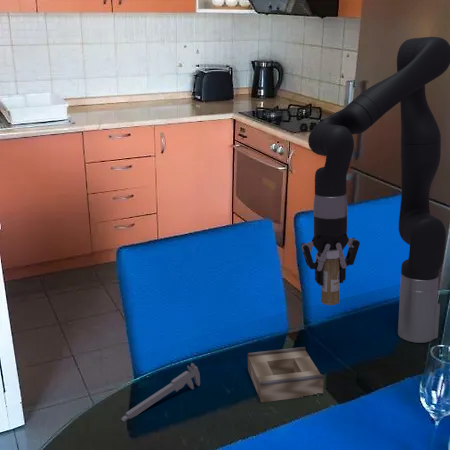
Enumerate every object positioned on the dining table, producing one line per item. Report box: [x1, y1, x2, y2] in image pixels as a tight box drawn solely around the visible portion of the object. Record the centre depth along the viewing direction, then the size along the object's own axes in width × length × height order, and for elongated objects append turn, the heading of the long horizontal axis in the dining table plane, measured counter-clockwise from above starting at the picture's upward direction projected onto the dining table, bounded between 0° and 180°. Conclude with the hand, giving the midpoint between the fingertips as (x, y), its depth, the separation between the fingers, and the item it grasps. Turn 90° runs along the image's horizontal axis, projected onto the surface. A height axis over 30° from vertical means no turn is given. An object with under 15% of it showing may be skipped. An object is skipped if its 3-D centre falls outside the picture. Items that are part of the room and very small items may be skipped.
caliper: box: [120, 362, 201, 423], centre depth 129 cm, size 20×1×6 cm, turn 131°
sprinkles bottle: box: [320, 249, 341, 306], centre depth 138 cm, size 5×5×14 cm
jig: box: [247, 346, 324, 403], centre depth 135 cm, size 14×14×5 cm
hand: (330, 282), depth 139 cm, fingers closed on sprinkles bottle, 4 cm apart
